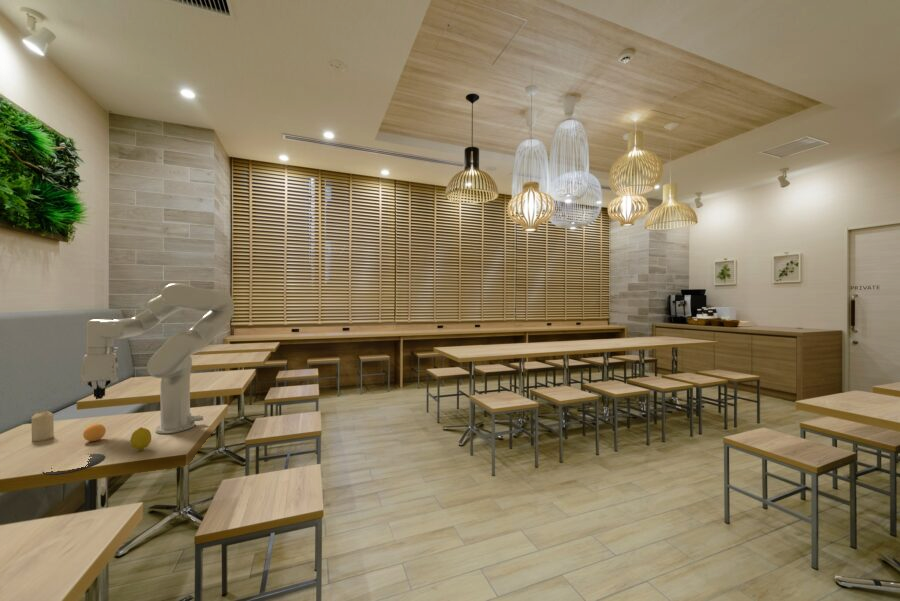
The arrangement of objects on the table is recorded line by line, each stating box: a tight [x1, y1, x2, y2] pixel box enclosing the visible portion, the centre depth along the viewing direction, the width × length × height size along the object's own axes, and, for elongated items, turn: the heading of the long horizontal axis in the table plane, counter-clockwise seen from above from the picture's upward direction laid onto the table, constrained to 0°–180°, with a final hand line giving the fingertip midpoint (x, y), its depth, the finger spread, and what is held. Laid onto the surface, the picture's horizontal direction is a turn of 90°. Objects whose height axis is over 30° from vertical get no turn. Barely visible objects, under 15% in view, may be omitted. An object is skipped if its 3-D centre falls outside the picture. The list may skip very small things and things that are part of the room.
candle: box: [30, 410, 55, 442], centre depth 138 cm, size 6×6×10 cm
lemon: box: [129, 426, 152, 452], centre depth 128 cm, size 6×6×8 cm
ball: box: [82, 423, 107, 442], centre depth 136 cm, size 6×6×6 cm
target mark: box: [44, 453, 106, 476], centre depth 118 cm, size 14×14×1 cm
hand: (99, 398), depth 144 cm, fingers closed
